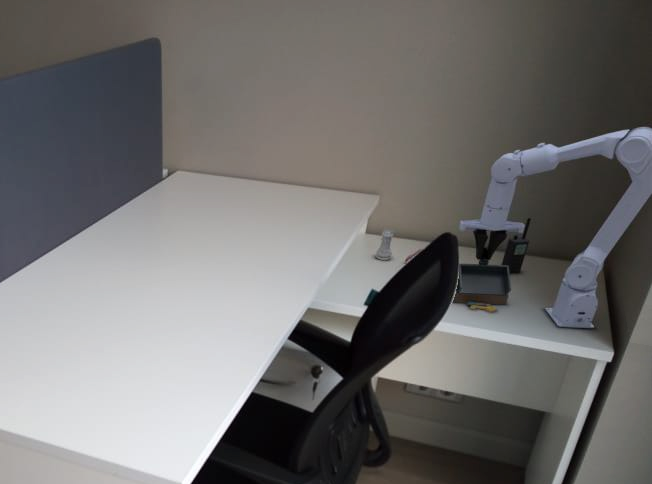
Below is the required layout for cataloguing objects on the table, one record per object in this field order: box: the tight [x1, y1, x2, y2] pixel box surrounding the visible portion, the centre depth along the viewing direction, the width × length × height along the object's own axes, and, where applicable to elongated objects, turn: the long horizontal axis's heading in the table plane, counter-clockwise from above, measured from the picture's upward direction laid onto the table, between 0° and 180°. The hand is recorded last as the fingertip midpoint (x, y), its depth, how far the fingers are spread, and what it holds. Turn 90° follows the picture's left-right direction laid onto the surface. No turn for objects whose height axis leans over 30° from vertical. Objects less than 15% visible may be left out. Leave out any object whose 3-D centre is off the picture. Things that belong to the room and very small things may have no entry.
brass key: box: [469, 305, 496, 313], centre depth 180 cm, size 6×2×1 cm, turn 67°
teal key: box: [466, 302, 492, 307], centre depth 182 cm, size 5×2×1 cm, turn 84°
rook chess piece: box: [375, 229, 394, 261], centre depth 207 cm, size 4×4×8 cm
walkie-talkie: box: [501, 217, 532, 274], centre depth 196 cm, size 5×3×15 cm
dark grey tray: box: [456, 246, 512, 296], centre depth 182 cm, size 11×12×4 cm
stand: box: [452, 292, 509, 305], centre depth 186 cm, size 8×13×2 cm, turn 82°
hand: (482, 258), depth 182 cm, fingers closed on dark grey tray, 2 cm apart
